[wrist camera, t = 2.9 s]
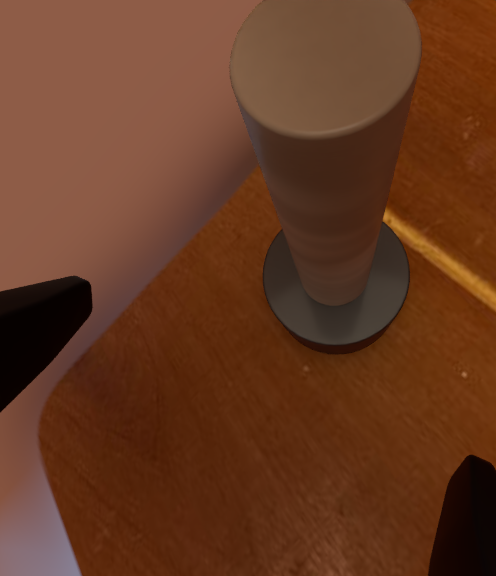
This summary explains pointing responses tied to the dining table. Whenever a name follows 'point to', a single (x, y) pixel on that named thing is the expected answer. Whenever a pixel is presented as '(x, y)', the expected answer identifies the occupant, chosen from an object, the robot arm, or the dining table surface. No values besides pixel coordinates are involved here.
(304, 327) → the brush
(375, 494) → the dining table surface
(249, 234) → the dining table surface
